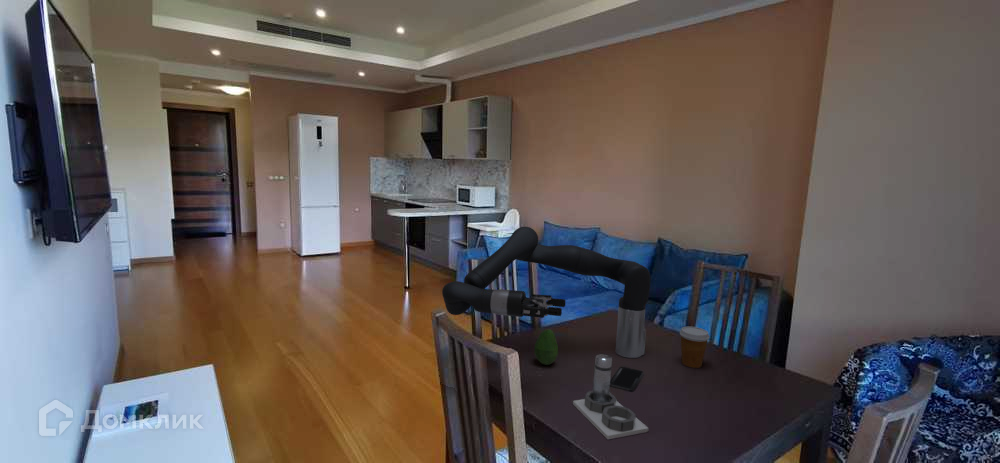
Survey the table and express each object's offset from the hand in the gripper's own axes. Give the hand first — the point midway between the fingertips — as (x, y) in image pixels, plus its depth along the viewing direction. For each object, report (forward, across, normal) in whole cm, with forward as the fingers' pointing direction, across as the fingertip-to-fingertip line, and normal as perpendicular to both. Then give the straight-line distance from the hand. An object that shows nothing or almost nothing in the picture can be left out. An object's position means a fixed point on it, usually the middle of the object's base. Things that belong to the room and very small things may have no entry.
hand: (563, 307), depth 136 cm
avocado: (-8, +20, +27) cm, 34 cm away
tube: (+12, -5, +26) cm, 29 cm away
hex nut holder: (+14, -9, +27) cm, 31 cm away
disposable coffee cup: (+41, +36, +28) cm, 61 cm away
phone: (+19, +16, +28) cm, 37 cm away
